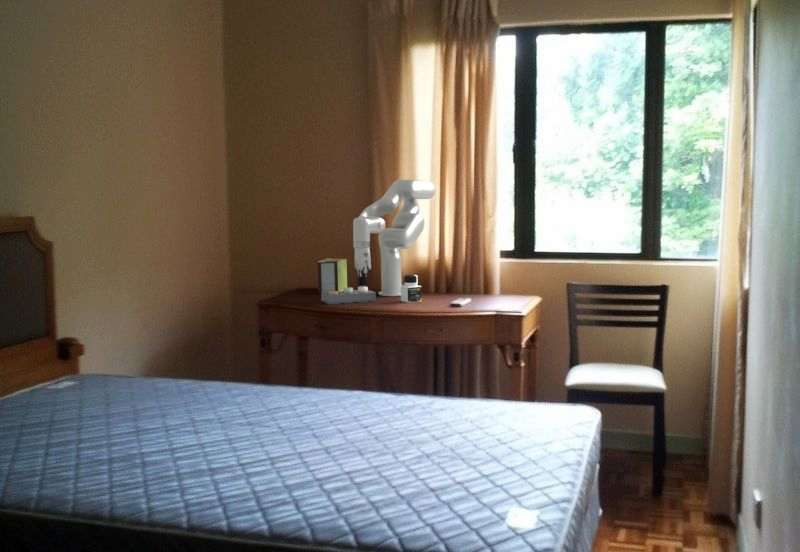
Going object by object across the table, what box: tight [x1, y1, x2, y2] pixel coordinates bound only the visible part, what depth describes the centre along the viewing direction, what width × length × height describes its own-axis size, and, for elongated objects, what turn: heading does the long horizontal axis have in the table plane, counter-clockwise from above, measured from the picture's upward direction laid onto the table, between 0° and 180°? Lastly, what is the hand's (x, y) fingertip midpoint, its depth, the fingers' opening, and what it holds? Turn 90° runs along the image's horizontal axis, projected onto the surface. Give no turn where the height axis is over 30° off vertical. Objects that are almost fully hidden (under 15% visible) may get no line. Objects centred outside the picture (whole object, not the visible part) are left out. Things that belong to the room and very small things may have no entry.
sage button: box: [343, 286, 354, 293], centre depth 393 cm, size 4×4×3 cm
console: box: [320, 289, 377, 305], centre depth 393 cm, size 22×12×4 cm, turn 112°
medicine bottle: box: [400, 274, 423, 304], centre depth 389 cm, size 7×7×12 cm
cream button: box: [357, 285, 369, 292], centre depth 395 cm, size 4×4×3 cm
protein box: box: [317, 258, 348, 294], centre depth 427 cm, size 10×15×16 cm
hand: (362, 285), depth 395 cm, fingers closed
